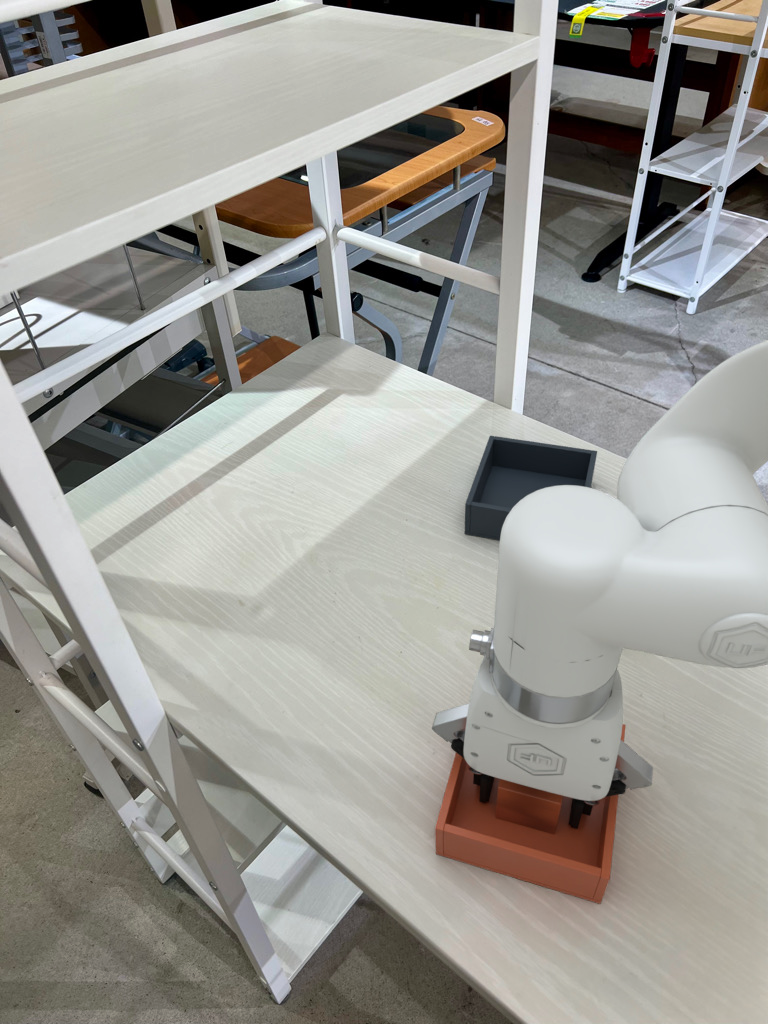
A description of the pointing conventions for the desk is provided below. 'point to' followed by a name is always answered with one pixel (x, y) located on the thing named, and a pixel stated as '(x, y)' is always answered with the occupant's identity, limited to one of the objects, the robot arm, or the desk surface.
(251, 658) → the desk surface
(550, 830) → the terracotta block
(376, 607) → the desk surface
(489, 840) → the terracotta bin
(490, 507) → the slate bin
